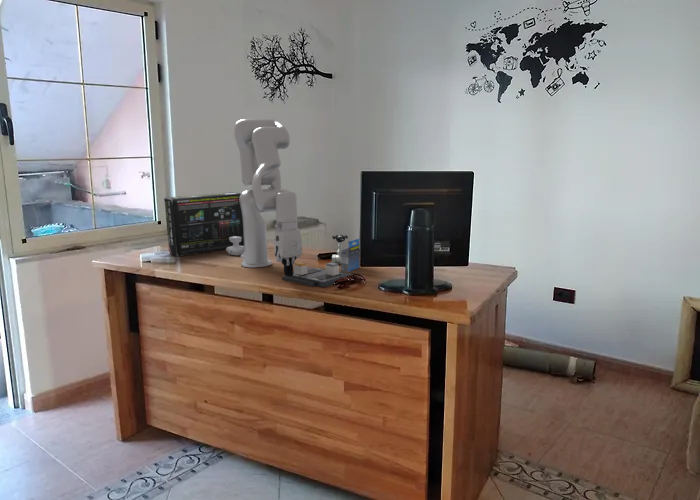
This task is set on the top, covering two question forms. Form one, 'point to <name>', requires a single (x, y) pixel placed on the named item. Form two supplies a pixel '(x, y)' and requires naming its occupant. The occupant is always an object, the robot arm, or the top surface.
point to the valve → (338, 257)
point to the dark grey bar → (298, 281)
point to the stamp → (235, 246)
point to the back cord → (339, 272)
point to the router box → (203, 222)
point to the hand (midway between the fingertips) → (288, 275)
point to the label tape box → (350, 256)
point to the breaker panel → (319, 277)
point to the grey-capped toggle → (332, 269)
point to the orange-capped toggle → (300, 268)
